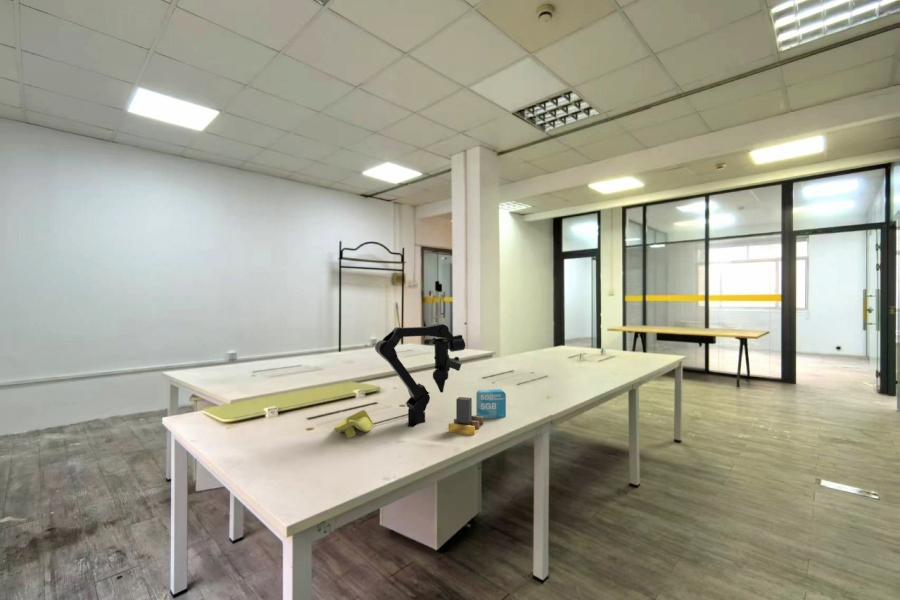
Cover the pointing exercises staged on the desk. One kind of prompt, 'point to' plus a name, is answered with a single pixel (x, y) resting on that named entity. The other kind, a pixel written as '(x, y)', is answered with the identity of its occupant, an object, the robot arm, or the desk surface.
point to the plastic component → (355, 424)
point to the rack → (467, 426)
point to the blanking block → (464, 411)
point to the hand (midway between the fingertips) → (442, 388)
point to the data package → (491, 403)
